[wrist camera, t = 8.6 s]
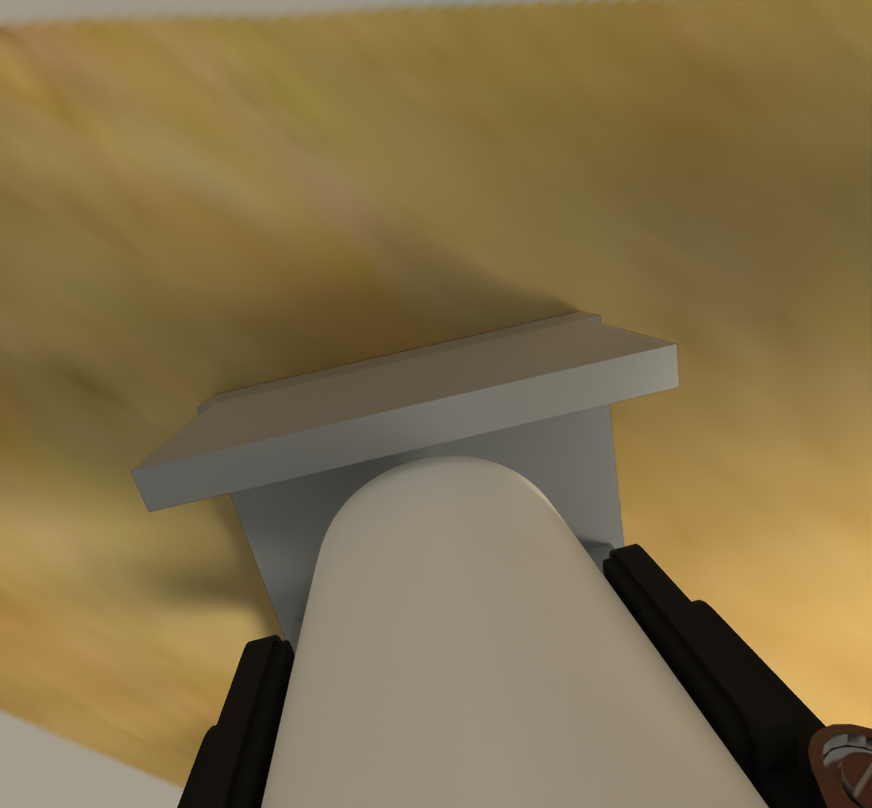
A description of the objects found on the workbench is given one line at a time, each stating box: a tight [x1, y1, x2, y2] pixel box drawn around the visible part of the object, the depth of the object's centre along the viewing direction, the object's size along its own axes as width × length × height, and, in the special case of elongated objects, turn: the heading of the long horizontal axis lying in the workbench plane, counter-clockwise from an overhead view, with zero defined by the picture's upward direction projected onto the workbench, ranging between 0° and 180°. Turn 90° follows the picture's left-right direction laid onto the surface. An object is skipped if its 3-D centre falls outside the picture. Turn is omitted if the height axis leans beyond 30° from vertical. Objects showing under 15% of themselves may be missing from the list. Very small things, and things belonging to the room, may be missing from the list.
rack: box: [131, 311, 679, 654], centre depth 16 cm, size 13×18×6 cm
